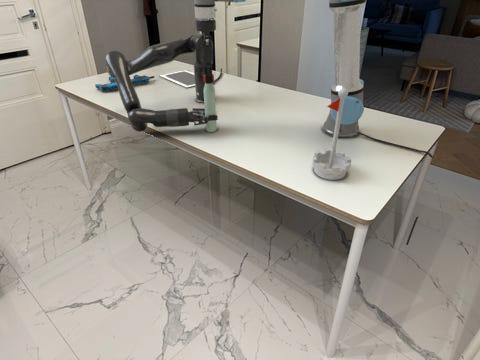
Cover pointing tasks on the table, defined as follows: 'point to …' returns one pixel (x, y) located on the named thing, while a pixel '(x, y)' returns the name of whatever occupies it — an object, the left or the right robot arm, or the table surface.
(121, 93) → the left robot arm
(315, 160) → the flag stand
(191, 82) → the tablet
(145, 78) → the submachine gun
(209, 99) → the bottle
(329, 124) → the right robot arm
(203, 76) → the cap
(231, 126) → the table surface
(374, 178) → the table surface
